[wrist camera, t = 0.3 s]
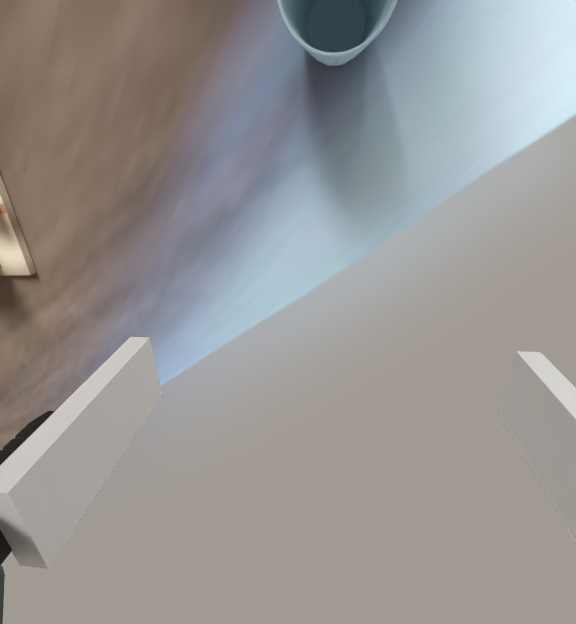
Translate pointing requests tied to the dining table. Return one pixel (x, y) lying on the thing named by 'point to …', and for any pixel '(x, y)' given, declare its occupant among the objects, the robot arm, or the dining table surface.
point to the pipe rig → (12, 240)
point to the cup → (335, 26)
